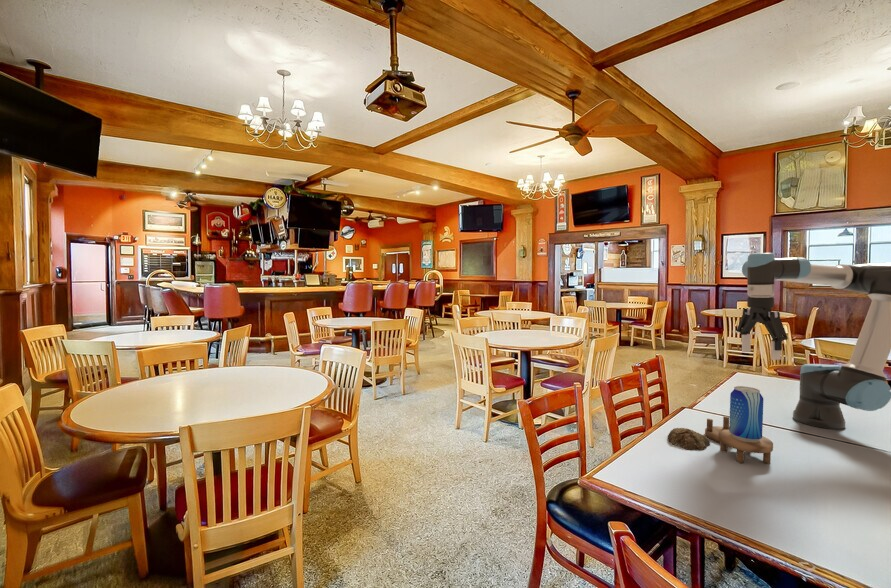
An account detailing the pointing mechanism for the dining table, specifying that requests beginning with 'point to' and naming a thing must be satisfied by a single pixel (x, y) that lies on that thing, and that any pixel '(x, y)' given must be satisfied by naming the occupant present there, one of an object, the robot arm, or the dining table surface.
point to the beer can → (746, 414)
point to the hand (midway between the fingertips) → (760, 355)
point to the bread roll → (688, 439)
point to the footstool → (745, 446)
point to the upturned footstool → (716, 429)
